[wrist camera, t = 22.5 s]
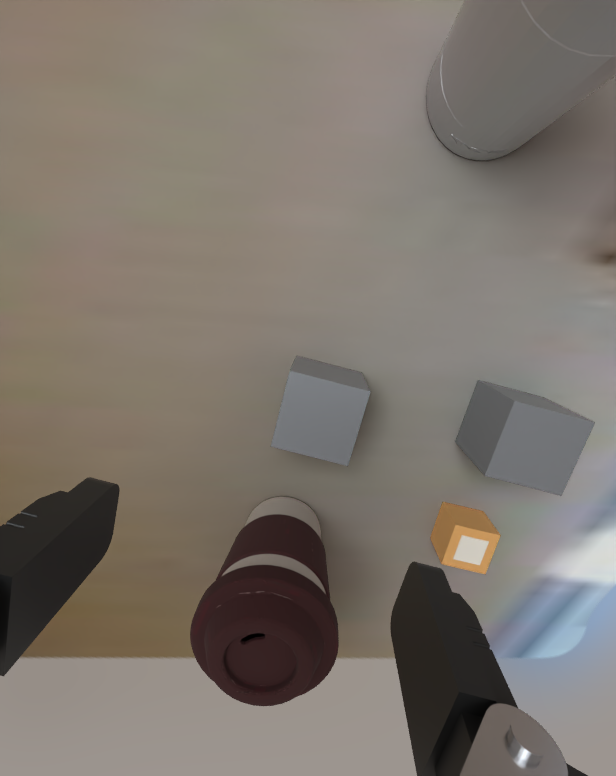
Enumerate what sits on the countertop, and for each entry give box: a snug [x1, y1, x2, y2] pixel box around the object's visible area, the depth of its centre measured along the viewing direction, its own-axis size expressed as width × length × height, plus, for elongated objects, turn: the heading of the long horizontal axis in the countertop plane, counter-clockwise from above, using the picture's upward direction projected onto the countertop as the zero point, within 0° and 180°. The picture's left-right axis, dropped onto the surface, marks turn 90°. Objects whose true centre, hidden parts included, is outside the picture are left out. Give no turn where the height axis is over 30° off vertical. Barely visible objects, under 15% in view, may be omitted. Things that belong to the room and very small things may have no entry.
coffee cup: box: [190, 497, 338, 706], centre depth 32 cm, size 10×10×15 cm
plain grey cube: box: [271, 356, 371, 466], centre depth 33 cm, size 6×6×7 cm
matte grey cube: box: [455, 380, 595, 496], centre depth 33 cm, size 6×6×7 cm
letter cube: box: [430, 502, 501, 574], centre depth 37 cm, size 4×4×4 cm
